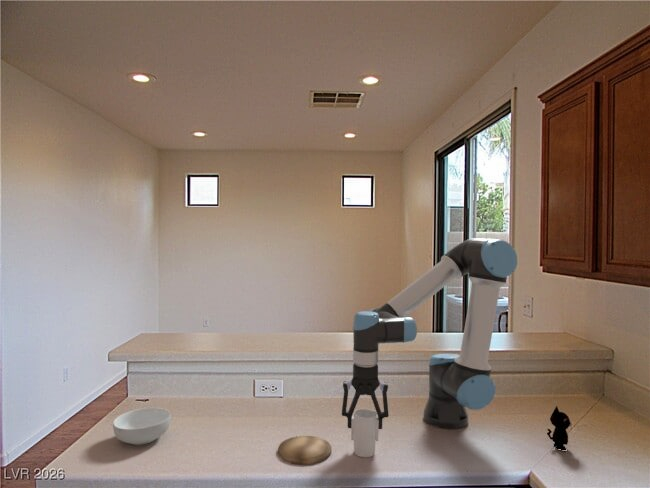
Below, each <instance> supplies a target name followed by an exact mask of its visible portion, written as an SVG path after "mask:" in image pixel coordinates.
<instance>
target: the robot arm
mask: <svg viewBox="0 0 650 488" xmlns="http://www.w3.org/2000/svg"><path fill="white" fill-rule="evenodd" d="M517 267H518V255H517V252H516V250H515V249H514V247H513V245H512V244H511V243H509V242H508V241H506V240H504V239H497V238H480V237H473V238H469V239H466V240H464V241H462V242H460V243H459V244H456V245H455V246H454V247H453V248H452V249H450V250H449V251H447V252H446V253H444V254H443V255H442V256H441V258H440V261H438V262H437V264H435V265H434V266H432V267H431V268H430V269H429V270H427V271H426V272H425V273H423V274H422V275H421V276H419V277H418V278H417V279H415V281H413V282H412V283H411V284H409V285H408V286H406V288H404V289H403V290H402V291H400V292H399V293H397V294H396V295H395V296H394V297H392V298H391V299H390V300H389V301H387V302H386V303H385V304H383V305H382V306H381V307H376V308H375V307H374V308H371V309H369V311H358V312H356V313H355V314H354V316H353V326H352V330H353V348H352V349H353V350H352V351H353V352H352V358H353V359H352V362H353V365H352V378H351V379H350V380H349V381H345V380H344V381H343V382H342V387H343V399H342V408H341V416H342V417H346V418H347V428H348V429H350V430H351V431H350V432H351V433H350V441H354V411H355V410H356V407H357V404H358V401H359V399H360V396H364V395H365V396H370V398H371V400H372V403H373V406H374V409H375V412H376V440H375V442H379V434H380V433H379V430H382V429H383V419H385V418H389V414H390V413H389V406H388V405H389V404H388V395H387V393H388V388H389V385H388V382H387V381H386V382H381V381H380V380H379V365H378V363H379V345H380V344H395V343H407V342H408V343H410V342H413V341H415V339H416V337H417V335H418V327H417V323H416V321H415V319H414V318H413V317H411V316H408V315H410V314H411V313H413V312H414V311H415V310H416V309H418V308H419V307H420V306H421V305H422V304H424V303H425V302H427V301H428V300H429V299H430V298H432V297H433V296H434V295H436V294H437V293H438V292H439V291H440V290H442V289H443V288H444V287H446V286H447V285H448V284H450V283H451V282H452V281H453V280H455V279H462V277H463V276H465V275H467V274H468V276H467V278H468V279H469V281H471V289H470V295H469V299H468V300H469V301H468V306H467V312H466V317H465V323H464V329H463V335H462V339H461V340H462V341H461V347H460V352H459V354H457V353H437V354H433V355H431V356H430V357H429V364H428V367H429V370H428V371H429V372H428V373H429V374H428V375H429V376H428V377H429V379H428V399H427V401H426V403H425V407H424V409H423V420H424V421H425V422H426V423H427V424H429V425H430V426H433V427H436V428H439V429H440V428H441V429H447V430H456V429H462V428H465V427H466V426H467V425H468V424H469V415H468V414H469V413H468V411H467V409H469V410H473V411H477V410H482V409H484V408H486V407H487V406H488V405H490V404H491V403H492V401H493V400H494V398H495V395H496V392H497V391H496V384H495V383H494V381H493V379H492V378H491V373H492V367H491V365H490V364H489V361H488V360H489V354H490V348H491V344H492V343H491V342H492V337H493V336H492V335H493V331H494V324H495V320H496V314H497V307H498V302H499V297H500V295H499V294H500V289H501V287H504V286H505V285H506V284H507V279H508V277H509V276H511V275H512V273H514V272H515V270H516V268H517ZM351 387H353V388H354V390H355V392H354V396H353V397H352V401H351V404H350V406H349V408H348V410H347V405H348V397H349V390H351ZM378 387H379V388H380V391H381V393H382V404H383V406H382V407H383V411H382V410H381V407H380V404H379V401H378V398H377V395H376V392H375V391H376V390H377V389H378Z"/></svg>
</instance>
